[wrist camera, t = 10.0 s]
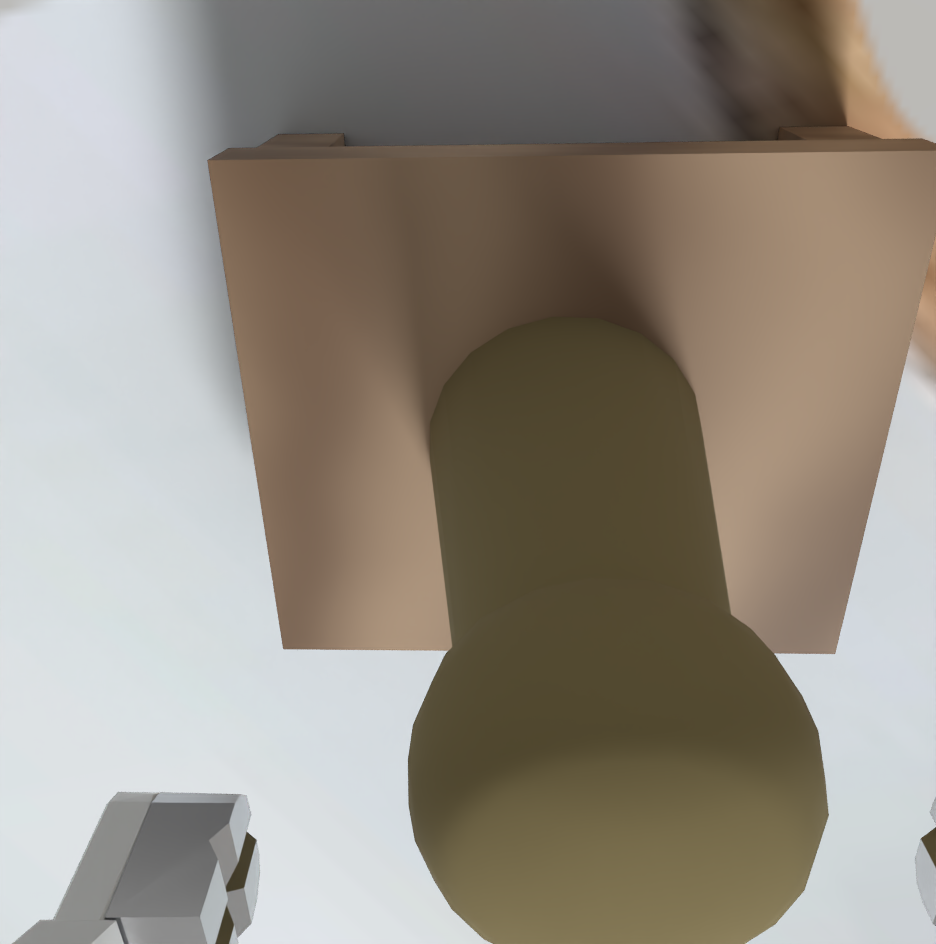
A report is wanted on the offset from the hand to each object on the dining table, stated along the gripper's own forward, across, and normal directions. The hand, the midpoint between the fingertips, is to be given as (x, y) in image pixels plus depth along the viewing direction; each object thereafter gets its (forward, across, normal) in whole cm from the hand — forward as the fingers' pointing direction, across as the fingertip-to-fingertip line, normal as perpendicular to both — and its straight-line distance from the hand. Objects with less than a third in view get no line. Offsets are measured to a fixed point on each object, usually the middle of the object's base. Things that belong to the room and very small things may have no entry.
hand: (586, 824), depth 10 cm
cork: (+10, -1, 0) cm, 10 cm away
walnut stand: (+15, -1, 0) cm, 15 cm away
